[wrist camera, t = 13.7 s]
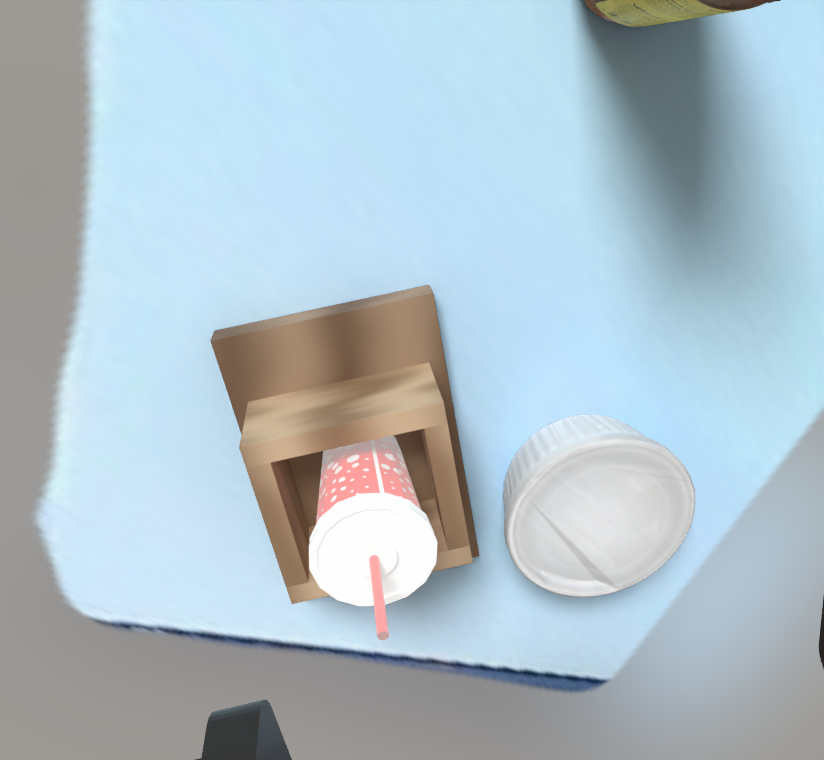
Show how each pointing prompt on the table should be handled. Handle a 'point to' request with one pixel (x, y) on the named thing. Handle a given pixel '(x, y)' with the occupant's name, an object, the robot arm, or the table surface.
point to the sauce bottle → (665, 9)
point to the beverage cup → (370, 529)
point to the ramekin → (594, 506)
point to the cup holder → (345, 415)
